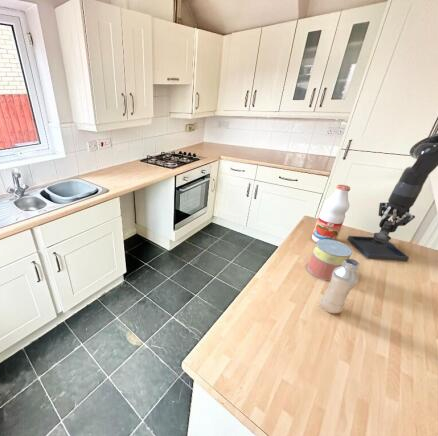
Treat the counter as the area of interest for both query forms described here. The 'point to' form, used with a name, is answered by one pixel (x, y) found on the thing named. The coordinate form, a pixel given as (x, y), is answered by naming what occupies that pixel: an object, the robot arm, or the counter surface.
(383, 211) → the robot arm
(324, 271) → the canned food
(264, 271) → the counter surface
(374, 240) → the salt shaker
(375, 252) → the tray
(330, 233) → the fruit juice
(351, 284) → the plastic bottle
